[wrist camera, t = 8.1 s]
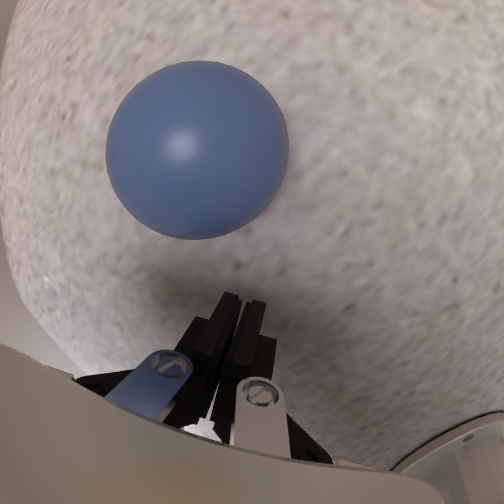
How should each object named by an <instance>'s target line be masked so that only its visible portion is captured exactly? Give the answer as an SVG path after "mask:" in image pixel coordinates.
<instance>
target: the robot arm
mask: <svg viewBox="0 0 504 504" xmlns="http://www.w3.org/2000/svg"><path fill="white" fill-rule="evenodd" d="M242 301H243V300H240V299H238V295H235V294H232V293H228V292H224V294H223V296H222V298H221V299H220V301H219V303H218V305H217V307H216V309H215V310H214V312H213V314H212V316H211V318H210V319H209V320H207V319H204V318H201V317H198V316H196V317H195V318H194V320H193V321H192V323H191V324H190V326H189V327H188V329H187V331H186V332H185V334H184V335H183V337H182V338H181V340H180V341H179V343H178V345H177V346H176V348H175V349H174V351H173V350H159V351H156V352H154V353H152V354H151V355H149V356H148V357H147V358H146V359H145V360H144V361H143V362H142V363H141V364H140V365H139V366H138V367H136V368H135V369H132V370H125V371H119V372H112V373H104V374H97V375H89V376H84V377H80V378H78V379H75V378H74V375H73V374H70V373H67V372H64V371H61V370H58V369H55V368H52V367H50V366H47V365H44V364H42V363H40V362H38V361H37V360H35V359H33V358H31V357H30V356H27V355H26V354H24V353H22V352H20V351H18V350H16V349H13V348H11V347H9V346H6V345H4V344H0V504H504V413H495V414H490V415H486V416H483V417H480V418H477V419H475V420H472V421H470V422H468V423H465V424H463V425H461V426H459V427H457V428H455V429H453V430H451V431H449V432H447V433H445V434H443V435H442V436H440V437H438V438H436V439H434V440H433V441H431V442H429V443H428V444H426V445H425V446H423V447H422V448H420V449H418V450H417V451H416V452H414V453H413V454H411V455H410V456H409V457H407V458H406V459H405V460H404V461H402V462H401V463H400V464H399V465H398V466H396V468H395V469H394V470H393V471H385V470H380V469H376V468H372V467H368V466H364V465H360V464H357V463H353V462H349V461H346V460H343V459H339V460H338V461H335V460H332V459H331V457H330V456H329V454H328V453H327V452H326V451H325V450H324V449H323V448H322V447H321V446H320V445H319V444H317V443H316V442H315V441H314V440H313V439H312V438H311V437H310V436H309V435H308V434H307V433H306V432H305V431H304V430H303V429H302V428H301V427H300V426H299V425H298V424H297V423H296V422H295V421H294V420H293V419H292V418H291V417H290V416H289V415H288V414H287V413H286V408H285V399H284V394H283V391H282V390H281V388H280V387H279V386H278V385H277V384H276V383H274V382H273V381H271V379H272V372H273V365H274V359H275V352H276V345H277V339H273V338H269V337H266V336H262V335H259V333H260V328H261V324H262V320H263V316H264V312H265V307H266V303H264V302H260V301H256V300H253V301H252V303H250V302H246V305H245V308H244V310H243V313H242V316H241V319H240V321H239V324H238V327H237V329H236V325H237V321H238V317H239V313H240V309H241V305H242ZM235 329H236V332H235ZM234 333H235V335H234ZM219 381H220V382H219ZM218 383H219V386H218ZM217 386H218V390H217V394H216V398H215V402H214V406H213V410H212V414H211V417H210V421H214V422H215V424H214V427H213V430H214V431H215V433H216V434H217V435H218V437H219V438H220V439H221V440H220V442H218V441H215V440H211V439H208V438H205V437H202V436H199V435H195V434H192V433H189V432H186V431H184V430H183V429H184V426H187V425H191V424H195V425H197V423H198V421H199V418H200V417H201V418H204V419H205V418H206V416H207V413H208V410H209V408H210V405H211V402H212V400H213V397H214V394H215V392H216V389H217Z"/></svg>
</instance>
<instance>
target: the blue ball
mask: <svg viewBox="0 0 504 504" xmlns="http://www.w3.org/2000/svg"><path fill="white" fill-rule="evenodd" d="M288 154H289V140H288V133H287V128H286V124H285V121H284V117H283V115H282V113H281V110H280V108H279V106H278V105H277V103H276V102H275V100H274V99H273V97H272V96H271V94H270V93H269V92H268V91H267V90H266V89H265V87H264V86H263V85H262V84H260V83H259V82H258V81H257V80H256V79H254V78H253V77H252V76H250V75H249V74H247V73H245V72H243V71H241V70H239V69H237V68H235V67H233V66H229V65H226V64H223V63H219V62H212V61H200V60H199V61H188V62H181V63H177V64H174V65H170V66H167V67H165V68H162V69H160V70H158V71H156V72H154V73H152V74H151V75H149V76H148V77H146V78H145V79H144V80H142V81H141V82H140V83H138V84H137V85H136V86H135V87H134V88H133V89H132V90H131V91H130V92H129V93H128V94H127V96H126V97H125V98H124V99H123V101H122V102H121V104H120V105H119V107H118V109H117V111H116V113H115V115H114V117H113V119H112V121H111V124H110V127H109V131H108V135H107V142H106V165H107V171H108V175H109V178H110V181H111V184H112V187H113V189H114V191H115V193H116V195H117V197H118V198H119V200H120V201H121V203H122V204H123V206H124V207H125V208H126V209H127V210H128V211H129V213H130V214H132V215H133V216H134V217H135V218H136V219H137V220H138V221H139V222H141V223H142V224H144V225H145V226H147V227H148V228H150V229H152V230H154V231H156V232H158V233H161V234H163V235H166V236H170V237H174V238H178V239H186V240H202V239H210V238H215V237H219V236H223V235H226V234H228V233H231V232H233V231H235V230H237V229H239V228H241V227H243V226H244V225H246V224H247V223H249V222H250V221H252V220H253V219H254V218H255V217H257V216H258V215H259V214H260V213H261V212H262V211H263V210H264V209H265V208H266V207H267V205H268V204H269V203H270V202H271V201H272V199H273V197H274V196H275V194H276V193H277V191H278V189H279V187H280V184H281V182H282V180H283V177H284V174H285V171H286V167H287V162H288Z"/></svg>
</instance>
